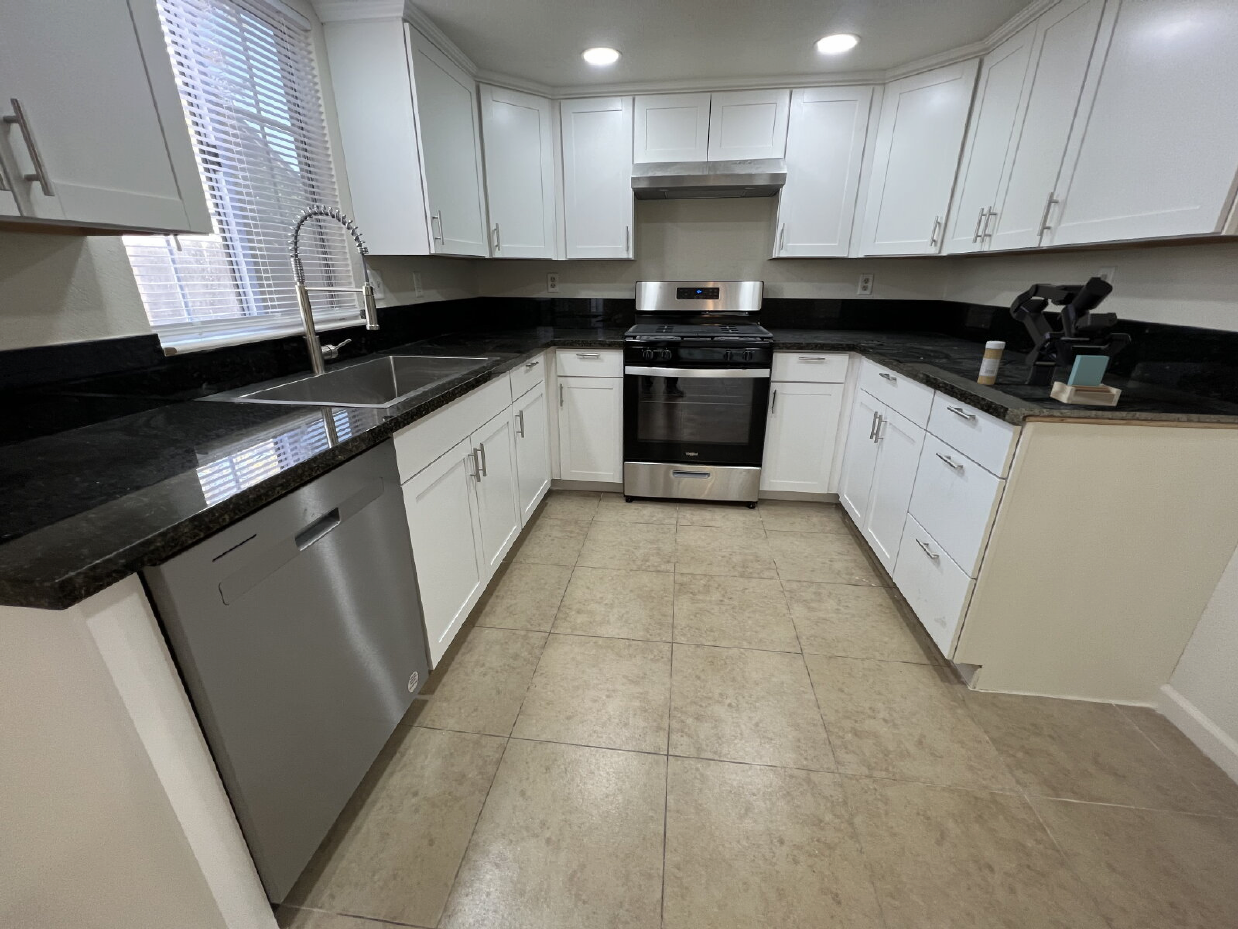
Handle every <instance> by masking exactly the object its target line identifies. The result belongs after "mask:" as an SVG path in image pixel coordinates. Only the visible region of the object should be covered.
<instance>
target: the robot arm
mask: <svg viewBox="0 0 1238 929" xmlns="http://www.w3.org/2000/svg"><path fill="white" fill-rule="evenodd" d="M1101 277H1102V276H1091V277H1090V278H1089V280H1087V282H1086V284H1061V285H1060V284H1059V285H1056V284H1051V283H1034V284H1032V285H1031V286H1030V287H1029V289H1027V290H1025V291H1023V292H1022V293H1020V294H1019V295H1017V297H1015V299H1014V300H1013V301H1012V303H1011V305H1010V308H1009V313H1010V315H1011V316H1012V317H1013V319H1014V320H1017V321H1019V322H1023V324H1024V325H1025V328H1026V329H1027V331H1028V333H1029V335H1030V337H1031V338H1032V341H1033V342H1034V344H1035V346H1034V347H1033V349H1032V350H1031V351H1030V352H1029V353H1028V354H1027V356H1026V357H1025V365H1027V366H1031V369H1030V373H1029V376H1028V380H1027V381H1026V382H1025V383H1024V385H1033V386H1039V387H1041V386H1043V387H1045V386H1054V383H1053V380H1054V377H1055V374H1056V371H1057V368H1062V369H1065V370H1066V369H1067V368H1068V363H1069V361H1070V359H1071V357H1072V355H1073V351H1074V350H1073V347H1075V348H1077V347H1079V348H1081V347H1082V348H1097V352H1099V353H1098V355H1097V356H1106V357H1109V360H1108V363H1107V366H1106V368H1105V371H1108V370H1109V369H1110V367H1111V365H1112V362H1113V359H1114V356H1115V355H1116V354H1118V353H1119V352H1121V351H1122V350H1123V349H1124V348H1125V347H1127V345H1129V344H1130V343H1131V342H1132V339H1131V336H1130V334H1129V333H1117V332H1115V333H1112V332H1110V333H1109V334H1108V335H1107V336H1106V337H1105V338H1096V336H1099V335H1100V334H1101V333H1102V330H1103V329H1104V328H1107V327H1112V326H1113V325H1116V324H1117V323H1118V316H1117V313H1116V312H1110V311H1109V312H1105V313H1103V312H1101V313H1100V312H1098V313H1097V312H1093V313H1092V312H1091V311H1093V310H1095V309H1097V308H1098V307H1099V306H1100V305H1101V304H1102V303H1103V302H1104V301H1105V300H1106V298H1107V297H1109V295H1110V294H1111V293H1112V292H1113V289H1114V287H1113V285H1112V284H1111V283H1109V282H1108V281H1106V280H1103V279H1102V278H1101ZM1035 297H1036V298H1035ZM1049 300H1050V302H1049ZM1050 303H1052V304H1053V305H1054V306H1057V307H1060V306H1061V307H1063V308H1062V309H1061V310H1060V314H1058V316H1057V320H1058V321H1060V320H1061V321H1062V326H1063V329H1062V330H1061V331H1053V329H1052V328H1051V325H1050V324H1049V323H1048V321H1047V319H1046V318H1045V316H1044V314H1043V313H1044V311H1045V310H1046V309H1047V307H1049V305H1050Z"/></svg>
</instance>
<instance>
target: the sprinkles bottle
mask: <svg viewBox="0 0 1238 929" xmlns="http://www.w3.org/2000/svg"><path fill="white" fill-rule="evenodd" d="M1005 346H1006V342H1005V341H999V340H994V341H993V340H989V341H987V342H986V344H985V351H984V354H983V357H982V361H981V366H980V370H979V374H978V379H977V381H976V383H977V384H980V385H989V386H991V385H993V386H994V385H995V381H996V378H997V375H998V370H999V368H1000V364H1001V359H1002V356H1003V351H1004V349H1005Z"/></svg>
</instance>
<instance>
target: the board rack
mask: <svg viewBox="0 0 1238 929" xmlns="http://www.w3.org/2000/svg"><path fill="white" fill-rule="evenodd" d="M1053 384H1054V385H1052V390H1051V393H1050V397H1051V398H1053V399H1055V400H1058V401H1060V402H1062V403H1065V404H1070V405H1071V404H1074V405H1089V406H1090V405H1091V406H1092V405H1093V406H1094V405H1095V406H1112V407H1116V406H1117V404H1118V401H1119V398H1120V395H1121V393H1122V390H1121V389H1119V388H1116V387H1112V386H1109V385H1107V384H1104V383H1100V385H1099V386H1104V387H1107V389H1108V390H1110V393H1100V392H1079V391H1075V389H1076V388H1074V387H1071V386H1069V385H1067V384H1066V383H1064V382H1060V381H1054V383H1053Z"/></svg>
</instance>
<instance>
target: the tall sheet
mask: <svg viewBox="0 0 1238 929" xmlns="http://www.w3.org/2000/svg"><path fill="white" fill-rule="evenodd" d="M1108 360H1109V357H1106V356H1098V355H1084V354H1083V355H1081V354H1080V355H1079V354H1078V355H1077V354H1076V357H1075V361H1074V363H1073V366H1072V369H1071V373H1070V376H1069V378H1068V381H1067V384H1066V385H1082V386H1099V385H1100V384H1102V383H1101V382H1102V381H1103V380H1102V379H1103V377H1104V374H1105V371H1106V370H1105V368H1106V366H1107V363H1108Z"/></svg>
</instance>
